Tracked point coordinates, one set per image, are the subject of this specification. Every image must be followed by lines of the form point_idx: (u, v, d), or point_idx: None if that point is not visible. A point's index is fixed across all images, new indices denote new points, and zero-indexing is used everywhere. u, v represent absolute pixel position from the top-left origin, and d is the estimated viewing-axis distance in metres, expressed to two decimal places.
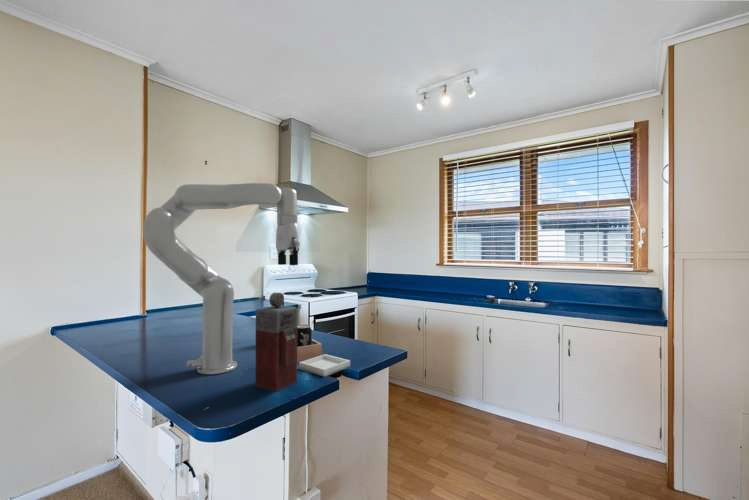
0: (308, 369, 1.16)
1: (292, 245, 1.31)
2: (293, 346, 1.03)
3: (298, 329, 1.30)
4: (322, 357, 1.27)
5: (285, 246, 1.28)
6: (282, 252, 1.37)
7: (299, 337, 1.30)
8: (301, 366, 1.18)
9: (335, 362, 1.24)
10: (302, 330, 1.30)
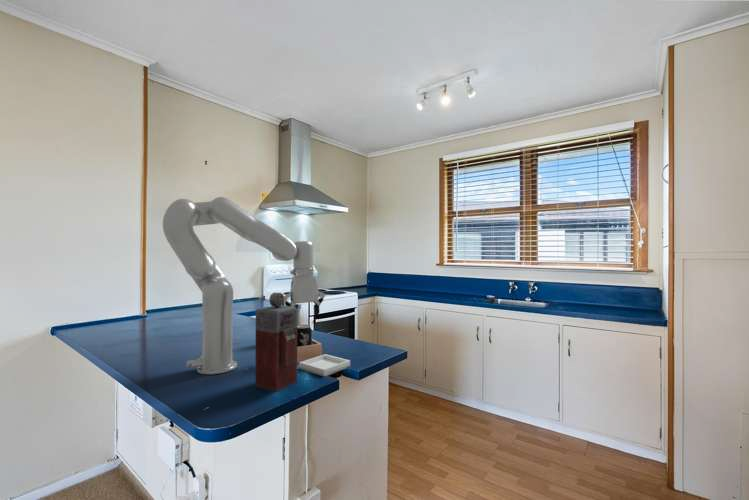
0: (308, 369, 1.16)
1: None
2: (293, 346, 1.03)
3: (298, 329, 1.30)
4: (322, 357, 1.27)
5: (316, 298, 1.33)
6: None
7: (299, 337, 1.30)
8: (301, 366, 1.18)
9: (335, 362, 1.24)
10: (302, 330, 1.30)
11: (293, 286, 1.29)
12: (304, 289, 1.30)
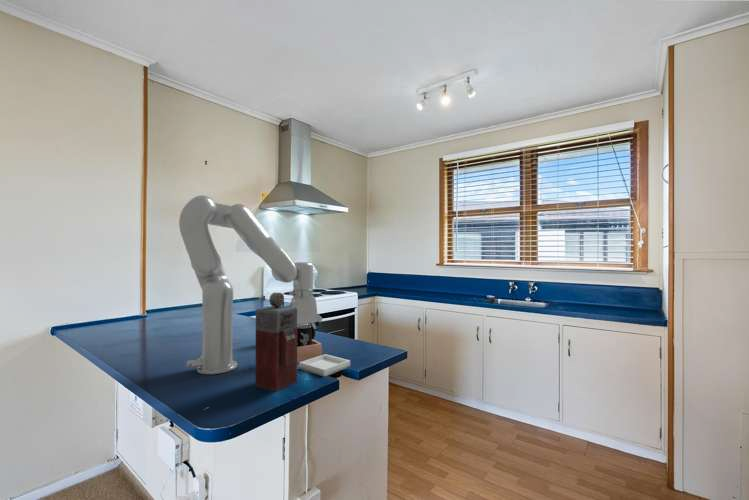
0: (308, 369, 1.16)
1: None
2: (293, 346, 1.03)
3: (298, 329, 1.30)
4: (322, 357, 1.27)
5: (315, 320, 1.33)
6: None
7: (299, 337, 1.30)
8: (301, 366, 1.18)
9: (335, 362, 1.24)
10: (302, 330, 1.30)
11: None
12: (303, 310, 1.30)
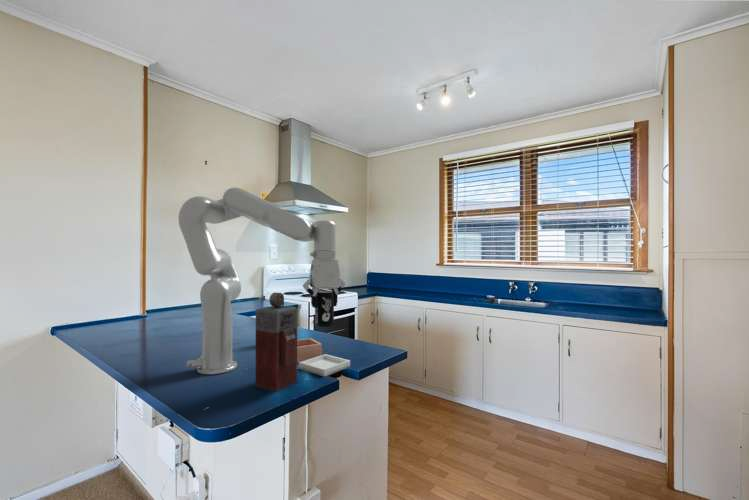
0: (308, 369, 1.16)
1: None
2: (293, 346, 1.03)
3: (319, 294, 1.18)
4: (322, 357, 1.27)
5: (337, 284, 1.21)
6: None
7: (320, 302, 1.18)
8: (301, 366, 1.18)
9: (335, 362, 1.24)
10: (324, 295, 1.18)
11: (313, 269, 1.17)
12: (325, 273, 1.18)
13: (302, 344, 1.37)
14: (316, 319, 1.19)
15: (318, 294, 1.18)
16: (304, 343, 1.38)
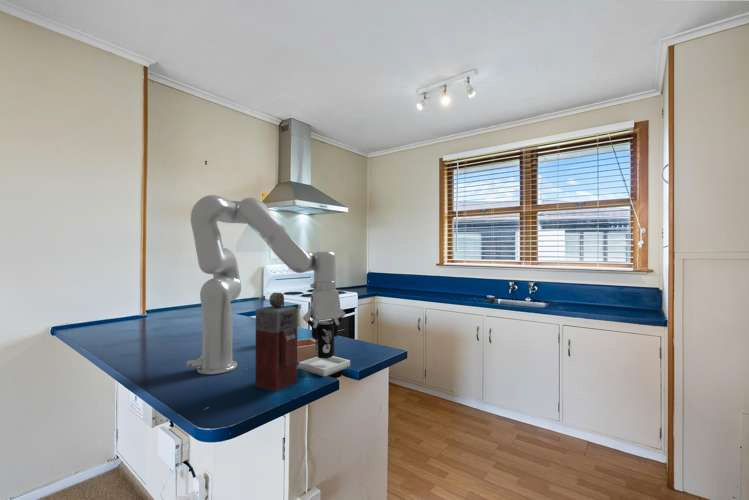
0: (308, 369, 1.16)
1: None
2: (293, 346, 1.03)
3: (320, 325, 1.18)
4: None
5: (338, 315, 1.20)
6: None
7: (321, 334, 1.17)
8: (301, 366, 1.18)
9: (335, 362, 1.24)
10: (324, 326, 1.18)
11: (314, 301, 1.17)
12: (325, 305, 1.18)
13: (302, 344, 1.37)
14: (317, 350, 1.18)
15: (318, 325, 1.18)
16: (304, 343, 1.38)
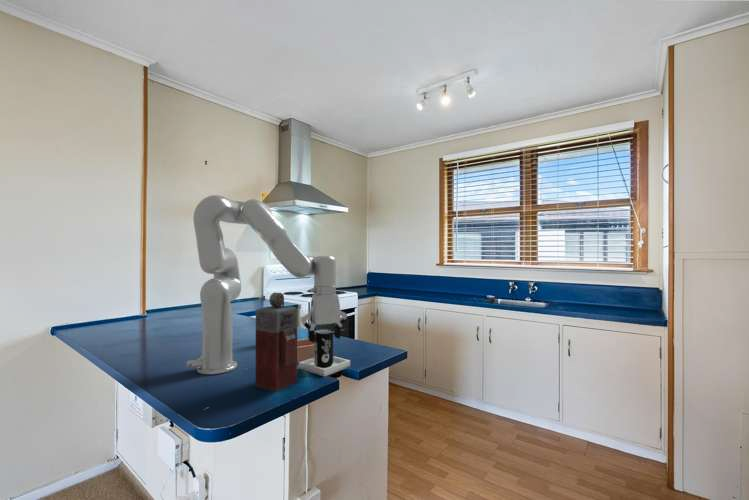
0: (308, 369, 1.16)
1: None
2: (293, 346, 1.03)
3: (319, 335, 1.18)
4: None
5: (338, 319, 1.20)
6: None
7: (320, 343, 1.17)
8: (301, 366, 1.18)
9: (335, 362, 1.24)
10: (323, 336, 1.17)
11: (314, 306, 1.17)
12: (325, 309, 1.18)
13: (302, 344, 1.37)
14: (315, 360, 1.18)
15: (317, 335, 1.18)
16: (304, 343, 1.38)
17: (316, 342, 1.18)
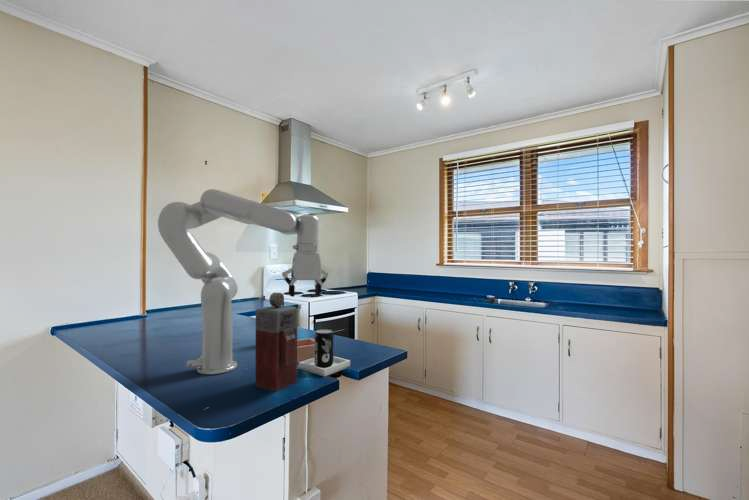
0: (308, 369, 1.16)
1: None
2: (293, 346, 1.03)
3: (319, 334, 1.18)
4: None
5: (318, 277, 1.25)
6: None
7: (320, 343, 1.17)
8: (301, 366, 1.18)
9: (335, 362, 1.24)
10: (324, 335, 1.18)
11: (295, 261, 1.21)
12: (306, 266, 1.22)
13: (302, 344, 1.37)
14: (316, 360, 1.18)
15: (318, 335, 1.18)
16: (304, 343, 1.38)
17: (316, 342, 1.18)
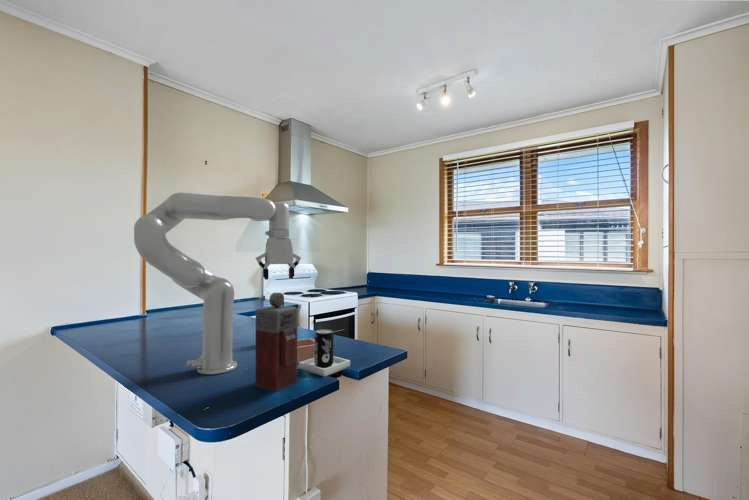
0: (308, 369, 1.16)
1: None
2: (293, 346, 1.03)
3: (319, 334, 1.18)
4: None
5: (290, 260, 1.33)
6: None
7: (320, 343, 1.17)
8: (301, 366, 1.18)
9: (335, 362, 1.24)
10: (324, 336, 1.18)
11: (267, 246, 1.29)
12: (278, 250, 1.30)
13: (302, 344, 1.37)
14: (316, 360, 1.18)
15: (318, 335, 1.18)
16: (304, 343, 1.38)
17: (316, 342, 1.18)
